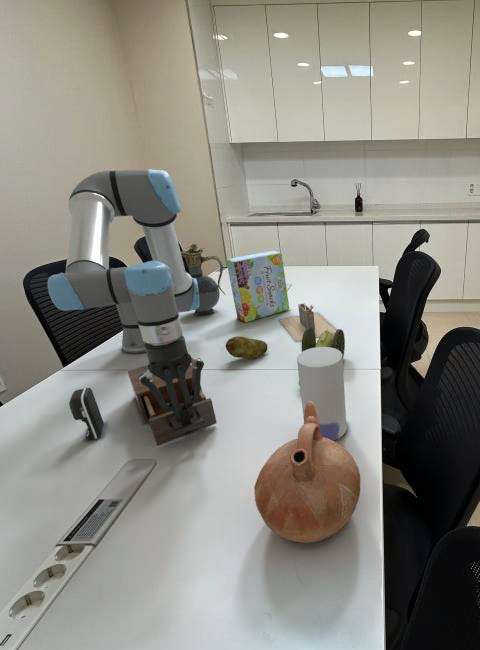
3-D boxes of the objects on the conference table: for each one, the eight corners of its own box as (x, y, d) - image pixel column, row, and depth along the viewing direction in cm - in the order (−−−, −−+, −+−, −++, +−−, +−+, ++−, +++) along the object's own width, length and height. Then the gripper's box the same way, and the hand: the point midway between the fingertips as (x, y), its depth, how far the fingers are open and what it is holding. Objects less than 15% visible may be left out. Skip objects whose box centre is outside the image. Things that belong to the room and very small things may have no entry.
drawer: (223, 432, 92) (217, 408, 89) (161, 457, 85) (153, 431, 82) (200, 398, 106) (195, 376, 103) (145, 416, 99) (138, 394, 96)
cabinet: (204, 402, 106) (198, 375, 102) (145, 423, 98) (136, 394, 94) (189, 380, 117) (183, 355, 114) (135, 397, 109) (127, 370, 106)
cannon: (325, 393, 109) (322, 357, 104) (285, 389, 111) (281, 354, 106) (348, 353, 131) (346, 322, 126) (314, 351, 133) (311, 320, 129)
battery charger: (86, 427, 97) (71, 388, 92) (104, 422, 98) (90, 384, 94) (82, 443, 91) (65, 402, 86) (101, 438, 92) (85, 398, 88)
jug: (276, 477, 79) (263, 394, 71) (364, 477, 79) (360, 394, 71) (247, 561, 63) (225, 465, 55) (358, 562, 62) (353, 465, 54)
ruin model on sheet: (338, 332, 148) (336, 308, 144) (296, 341, 141) (294, 316, 137) (316, 313, 168) (314, 291, 165) (279, 319, 162) (276, 297, 158)
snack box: (280, 305, 178) (273, 249, 168) (290, 310, 173) (283, 252, 162) (235, 318, 165) (225, 258, 155) (244, 323, 159) (234, 261, 149)
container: (352, 421, 96) (349, 349, 88) (336, 446, 88) (330, 369, 80) (316, 414, 99) (309, 343, 91) (297, 438, 91) (288, 362, 83)
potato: (267, 360, 128) (264, 338, 124) (227, 365, 125) (222, 343, 122) (268, 350, 135) (265, 329, 132) (230, 354, 133) (226, 333, 130)
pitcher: (184, 312, 173) (168, 244, 161) (228, 304, 181) (216, 240, 169) (186, 319, 164) (169, 249, 152) (232, 311, 172) (220, 243, 160)
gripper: (131, 354, 74) (161, 451, 84) (201, 336, 81) (221, 427, 91) (125, 341, 79) (154, 433, 89) (192, 325, 87) (212, 412, 96)
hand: (188, 430), depth 90 cm, fingers closed
